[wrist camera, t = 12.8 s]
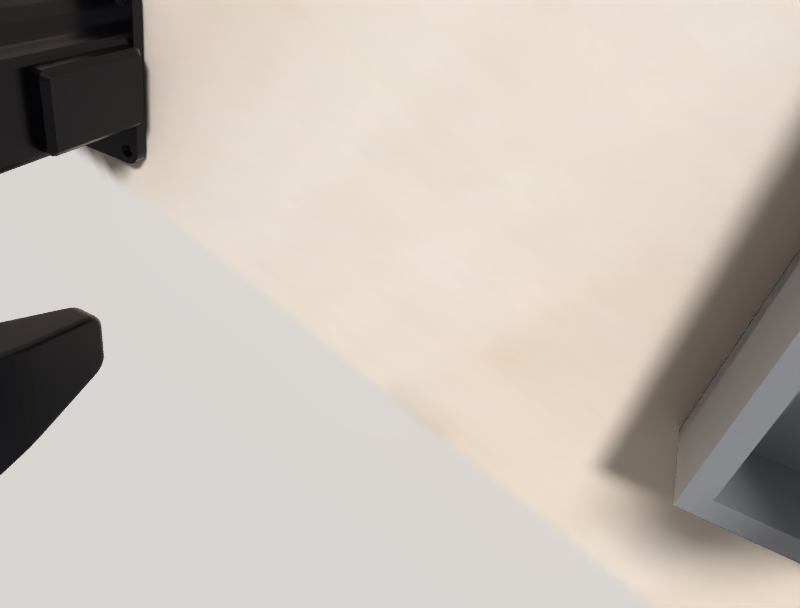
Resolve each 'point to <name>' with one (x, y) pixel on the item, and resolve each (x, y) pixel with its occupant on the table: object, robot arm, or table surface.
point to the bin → (750, 431)
